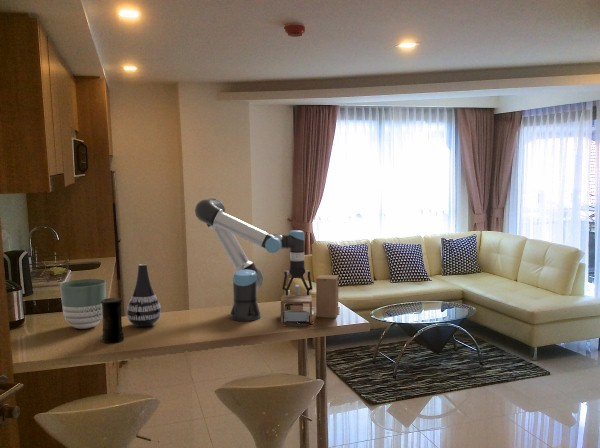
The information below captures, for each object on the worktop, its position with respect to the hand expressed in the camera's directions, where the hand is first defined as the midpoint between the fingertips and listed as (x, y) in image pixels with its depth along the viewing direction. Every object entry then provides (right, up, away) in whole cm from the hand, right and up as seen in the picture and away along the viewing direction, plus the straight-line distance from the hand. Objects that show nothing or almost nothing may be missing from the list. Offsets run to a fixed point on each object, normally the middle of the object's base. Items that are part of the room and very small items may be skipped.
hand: (297, 302), depth 271 cm
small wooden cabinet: (0, -5, -9) cm, 10 cm away
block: (0, -6, -13) cm, 14 cm away
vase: (-73, -7, -24) cm, 77 cm away
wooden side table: (0, -6, -13) cm, 15 cm away
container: (-80, -9, -47) cm, 93 cm away
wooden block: (+15, -6, -7) cm, 18 cm away
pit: (-1, -7, -24) cm, 25 cm away
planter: (-101, -8, -26) cm, 104 cm away
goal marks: (0, -5, -2) cm, 5 cm away
